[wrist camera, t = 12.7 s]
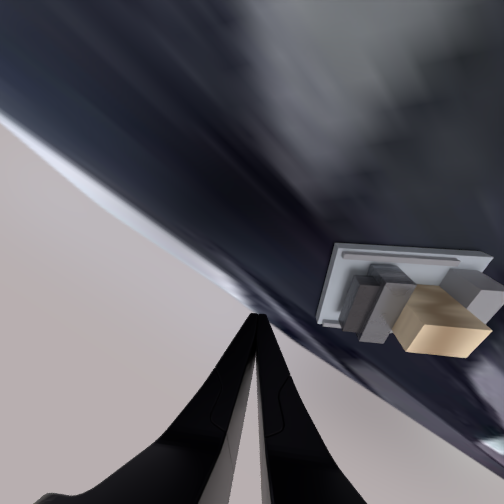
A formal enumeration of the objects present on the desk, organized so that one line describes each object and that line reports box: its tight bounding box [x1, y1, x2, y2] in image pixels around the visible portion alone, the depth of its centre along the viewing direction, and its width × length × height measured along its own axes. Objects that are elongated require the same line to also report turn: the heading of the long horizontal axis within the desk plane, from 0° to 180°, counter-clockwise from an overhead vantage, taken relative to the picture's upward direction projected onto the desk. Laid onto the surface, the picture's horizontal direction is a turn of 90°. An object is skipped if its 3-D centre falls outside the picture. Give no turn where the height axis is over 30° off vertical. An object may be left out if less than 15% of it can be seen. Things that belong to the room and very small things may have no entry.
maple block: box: [392, 284, 492, 358], centre depth 18 cm, size 5×4×6 cm
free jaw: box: [338, 264, 417, 344], centre depth 19 cm, size 4×8×3 cm, turn 0°
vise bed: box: [316, 243, 504, 333], centre depth 20 cm, size 14×11×4 cm
